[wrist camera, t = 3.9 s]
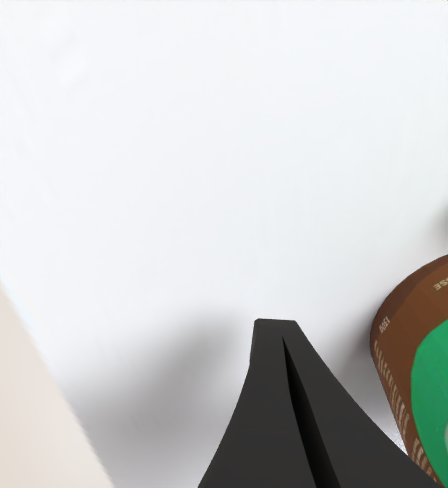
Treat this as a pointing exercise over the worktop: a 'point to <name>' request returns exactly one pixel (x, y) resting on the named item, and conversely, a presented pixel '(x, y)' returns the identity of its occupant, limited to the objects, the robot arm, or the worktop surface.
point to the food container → (417, 364)
